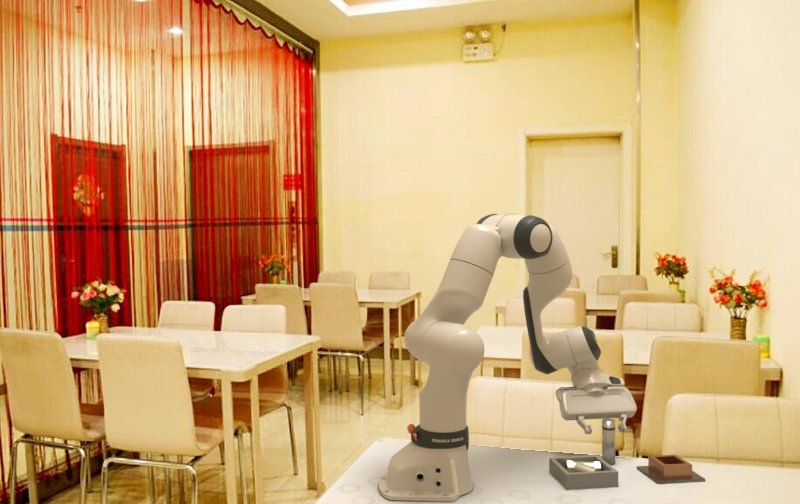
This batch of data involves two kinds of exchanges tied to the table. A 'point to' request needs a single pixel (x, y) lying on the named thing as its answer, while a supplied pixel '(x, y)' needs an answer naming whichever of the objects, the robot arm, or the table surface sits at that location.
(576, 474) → the parts corral
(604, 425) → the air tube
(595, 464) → the pipe fitting
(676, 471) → the collar
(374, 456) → the table surface
